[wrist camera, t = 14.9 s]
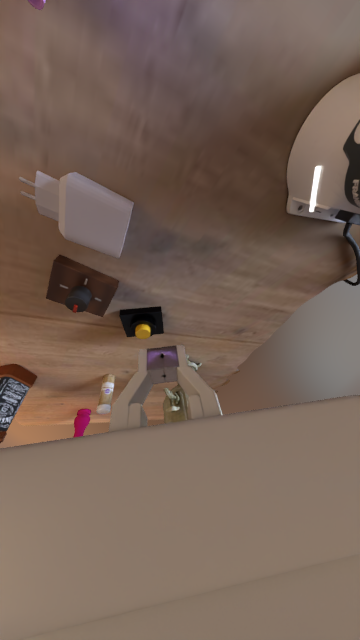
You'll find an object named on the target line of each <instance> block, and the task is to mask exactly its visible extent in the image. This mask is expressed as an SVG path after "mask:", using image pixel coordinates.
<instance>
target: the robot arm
mask: <svg viewBox="0 0 360 640" xmlns="http://www.w3.org/2000/svg"><path fill="white" fill-rule="evenodd" d="M287 185H288V191H289V196H288V201H287V208H286V210H287V213H289V214H294V215H300V216H305V217H311V218H317V219H323V220H329V221H334V222H340V223H346V222H347V223H346V225H345V228H344V231H343V236H344V237H346V239H347V240H348V242H349V243H350V244H351V246H352V248H353V250H354V252H355V255H356V261H357V274H358V279H357V282H356V283H353V282H351V281H349V280H348V279H346V280H343V281H345V282H346V283H348V284H350V285H352V286H356V285H358V284H360V250H359V248H358V245H357V244H356V242H355V241H354V239H353V238H352V236H351V235H350V234H349V230H350V227H351V225H352V224H356V225H360V73H359V74H356V75H353V76H351V77H349V78H347V79H345V80H343V81H342V82H340V83H339V84H337V85H336V86H335V87H334V88H332V89H331V90H330V91H329V92H328V93H327V94H326V95H325V96H324V97H323V98H322V99H321V100H320V101H319V103H318V104H317V105H316V106H315V107H314V109H313V110H312V111H311V113H310V114H309V116H308V117H307V119H306V120H305V122H304V124H303V126H302V127H301V129H300V131H299V133H298V135H297V137H296V140H295V142H294V144H293V147H292V150H291V153H290V157H289V161H288V166H287ZM299 206H300V208H299ZM298 208H299V209H298ZM174 381H178V383H179V384H180V386H181V387H182V388H183V390H184V391H185V392H186V394H187V395H188V396H189V399H188V410H187V413H188V420H186V421H179V422H172V423H166V424H159V425H153V426H147V416H146V414H145V412H144V409H143V407H142V405H143V403H144V401H145V399H146V397H147V395H148V394H149V392H150V390H151V388H152V386H153V384H158V383H164V382H174ZM0 640H360V395H351V396H344V397H337V398H331V399H324V400H318V401H312V402H305V403H298V404H291V405H284V406H278V407H271V408H265V409H259V410H251V411H245V412H238V413H233V414H225V415H221V413H220V409H219V406H218V402H217V398H216V395H215V392H214V391H213V390H212V388H211V387H210V386H209V385H208V384H207V383H206V382H205V381H204V380H203V379H202V378H201V377H200V376H199V375H198V374H197V373H196V372H195V371H194V370H193V369H192V367H191V366H188V364H187V358H186V353H185V348H184V345H178V346H168V347H161V348H150V349H140V350H139V359H138V372H136V373H135V374H134V375H133V377H132V378H131V380H130V381H129V383H128V384H127V386H126V387H125V388H124V390H123V391H122V393H121V394H120V396H119V397H118V398H117V400H116V401H115V403H114V404H113V406H112V413H111V420H110V426H109V432H106V433H101V434H93V435H87V436H80V437H73V438H67V439H60V440H54V441H47V442H40V443H34V444H27V445H21V446H14V447H7V448H1V449H0Z"/></svg>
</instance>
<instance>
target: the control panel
mask: <svg viewBox="0 0 360 640" xmlns="http://www.w3.org/2000/svg"><path fill="white" fill-rule="evenodd" d="M118 283H119V281H118V280H116V279H113V278H111V277H109V276H107V275H105V274H102V273H100V272H98V271H96V270H93V269H91V268H89V267H87V266H84V265H82V264H80V263H78V262H75V261H73V260H71V259H69V258H67V257H64V256H62V255H59V256H58V257H57V258H56V259H55V260H54V262H53V267H52V271H51V276H50V281H49V286H48V291H47V296H46V299H49V300H52V301H55V302H58V303H61V304H64V305H65V300H66V298H67V296H68V295H69V293H70V291H71V289H72V288H73V287H75V286H83V287H86V288H87V289H89V290H90V292H91V294H92V297H91V300H90V302H89V304H88V307H87V309H86V310H85V311H86V312H89V313H92V314H95V315H98V316H101V317H103V316H104V314H105V312H106V310H107V308H108V306H109V304H110V302H111V300H112V298H113V296H114V294H115V292H116V290H117V287H118Z"/></svg>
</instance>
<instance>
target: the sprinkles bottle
mask: <svg viewBox="0 0 360 640" xmlns="http://www.w3.org/2000/svg"><path fill="white" fill-rule="evenodd" d="M114 380H115V376H114V375H105V376H104V379H103V384H102V388H101V393H100V399H99V404H98V406H97V411H96V412H97V413H99V414H107V413H109V412H110V409H111V400H112V394H113V388H114Z"/></svg>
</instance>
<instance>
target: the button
mask: <svg viewBox="0 0 360 640" xmlns="http://www.w3.org/2000/svg"><path fill="white" fill-rule="evenodd" d="M135 335H136V337H137V338H139V339H146V338H148V337H150V327H149V326H148V325H146V324H140V325H138V326H137V327H136V331H135Z"/></svg>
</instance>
